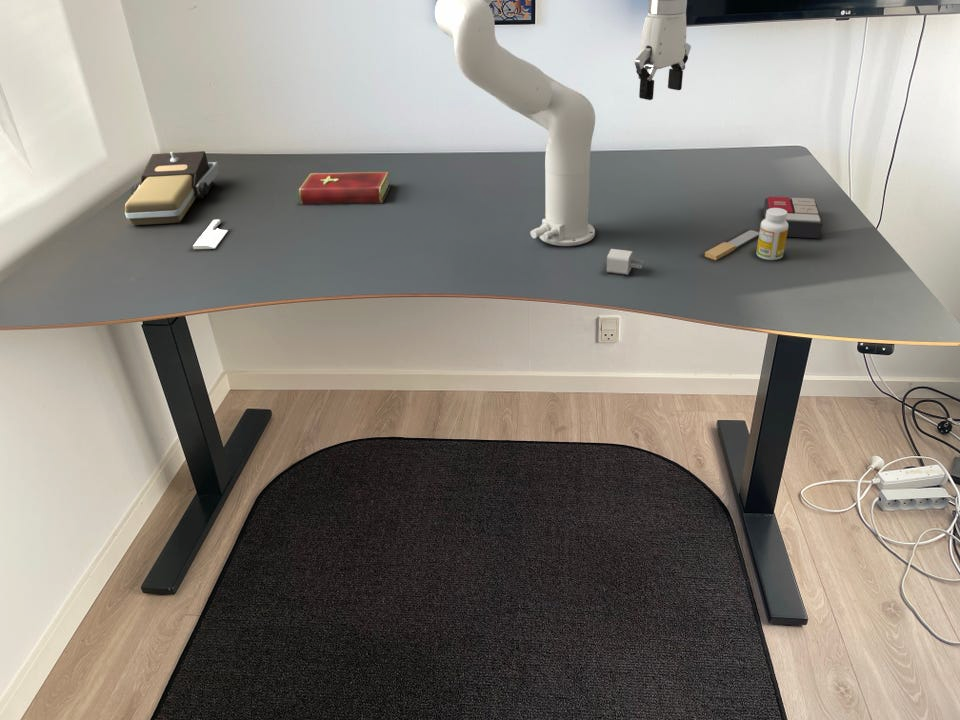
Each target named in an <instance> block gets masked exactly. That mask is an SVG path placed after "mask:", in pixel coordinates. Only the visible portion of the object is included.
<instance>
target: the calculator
mask: <svg viewBox="0 0 960 720" xmlns="http://www.w3.org/2000/svg"><path fill="white" fill-rule="evenodd" d="M817 204H818V203H817V201H816V200H815V198H809V197H808V198H807V197H791V198H790V196H789V197H788V196H767V197H765V199H764V203H763V217H764V219H766V211H767V210H768V209H770V208H781V209H784V210H786V211H787V218H786V220H785V221H787V223H788V232H787V238H789V237H790V238H803V239H820V238H821V233H822V229H823V224H824V222H823V220H822V216H821V213H820V211H819V207H818V205H817Z"/></svg>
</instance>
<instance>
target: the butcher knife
mask: <svg viewBox="0 0 960 720" xmlns="http://www.w3.org/2000/svg"><path fill="white" fill-rule="evenodd" d="M221 222H222V221H221V219H213V220H211V222H210V223H209V225H208V226H207V228H206V229H205V230H204V231H203V232H202V234H201V235H200V236H199V237H198V238H197V239H196V241H195V242H194V244H193V245H192V249H193V250H212V249H213V250H214V249H216V248H217V247H218V245H219V244H220V243H221V241H222V240H223V239H224V237H225V236H226V234H227V233H228V232H229V230H228V229H220V228H218V226H219V225H220V224H221Z"/></svg>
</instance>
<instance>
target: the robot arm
mask: <svg viewBox="0 0 960 720" xmlns="http://www.w3.org/2000/svg"><path fill="white" fill-rule="evenodd" d="M493 1H494V0H437V1H436V2H435V3H436V4H435V7H434V19H435V22H436V25H437V27H438V29H440V31H441V32H443V33H444V34H445V35H446V36H448V37H450V38H452V39H453V47H454V56H455V59H456V62H457V65H458V67H459V69H460V71H461V73H462V74H463V76H464V77H466V79H467V80H468V81H470V83H472V84H473V85H476V86H477V87H478V88H480V89H482V90H483V91H484V92H486V93H488V94H489V95H490V96H493V97H494V98H495V99H496V100H497V101H498V102H499V103H500V104H502V105H504V106H506V107H507V108H509V109H510V110H512V111H514V112H517V113H518V114H520V115H522V116H523V117H526V118H527V119H529V120H531V121H532V122H534V123H536V124H537V125H539V126H541V127H542V128H544V129H545V130H547V132H548V140H547V144H546V148H545V156H544V161H545V162H544V169H545V172H544V173H545V174H544V175H545V176H544V177H545V178H544V179H545V180H544V181H545V186H544V187H545V188H544V190H545V191H544V193H545V198H544V199H545V202H544V204H545V206H544V207H545V210H544V211H545V213H544V217H545V218H542V220H541V224H540V225H539V227H536V228H534V229H532V230H530V232H529V234H530V237H531V238H532V239H537V238H539V239H540V240H541V241H542V242H544V243H546V244H549V245H552V246H558V247H574V246H575V247H576V246H580V245H583V244H586V243H589V242H590V241H592V240H593V239H594V238H595V235H596V229H595V228H594V226H593V225H592V224H590V223H589V207H590V176H591V174H590V173H591V149H592V140H593V136H594V131H595V126H596V112H595V108H594V105H593V103H591V101H590V99H588V98H587V97H586V96H585V95H584V94H582V93H581V92H578V91H577V90H575V89H572V88H570V87H568V86H566V85H564V84H562V83H561V82H559V81H557V80H555V79H554V78H552V77H551V76H549V75H548V74H546V73H544V71H542V70H541V69H540V68H539V67H538V66H536V65H534V64H532V63H531V62H528V61H527V60H524V59H522V58H521V57H518V56H516V55H514V54H513V53H512V52H511V51H509V50H507V48H504V47H503V46H502V45H500V44H499V42H498V40H497V38H496V25H495V23H496V22H495V16H494V12H493V10H492V8H491V6H490V5H491V4H492V2H493ZM687 5H688V0H648V2H647V15H646V16H645V18H644V22H643V27H642V32H641V37H640V45H639V54H638V56H637V57H636V59H635V60H634V66H635V69H636V71H635V72H636V74H637V76H638V79H639V90H638V91H639V92H638V93H639V94H638V97H639V99H642V100H646V101H653V99H654V92H655V91H654V90H655V80H654V79H653V78H654V77H655V75H656V72H657V71H658V70H660V69H664V68H667V67H671V68H669V69H668V78H667V79H668V80H667V88H668V89H670V90H675V91H681V90H682V88H683V77H684V71H685V69H686V63H687V62H688V60H689V54H690V52H691V49H692V45H690V43H688V42H687ZM648 70H649V71H648Z"/></svg>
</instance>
